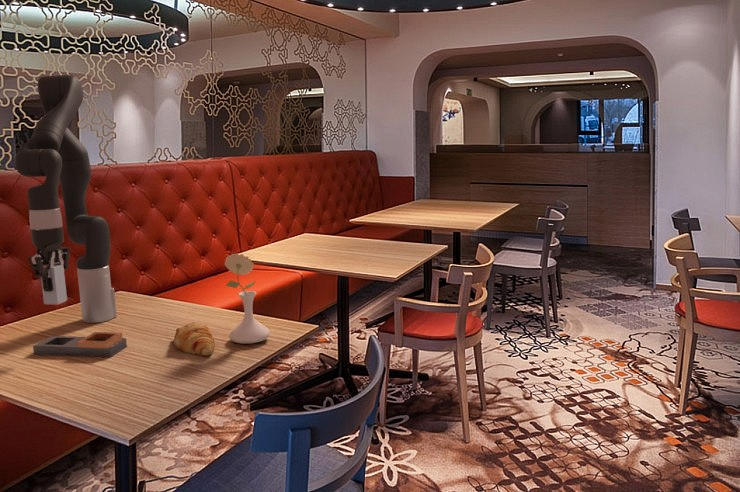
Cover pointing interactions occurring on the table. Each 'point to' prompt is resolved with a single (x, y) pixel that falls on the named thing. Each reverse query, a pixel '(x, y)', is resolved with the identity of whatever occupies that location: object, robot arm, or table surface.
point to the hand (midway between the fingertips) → (54, 288)
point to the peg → (56, 287)
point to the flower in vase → (245, 304)
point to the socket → (82, 345)
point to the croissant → (194, 339)
